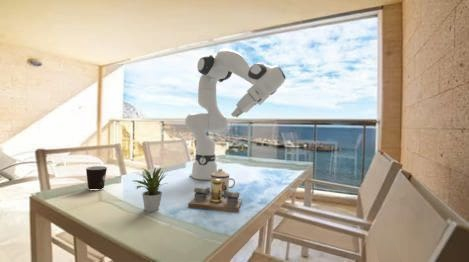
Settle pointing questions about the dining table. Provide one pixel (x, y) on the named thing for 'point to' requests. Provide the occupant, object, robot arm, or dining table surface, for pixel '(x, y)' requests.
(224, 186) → the teacup with lid
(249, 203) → the dining table surface
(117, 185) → the dining table surface
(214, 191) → the brass door knob
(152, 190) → the house plant
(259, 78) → the robot arm
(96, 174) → the coffee mug
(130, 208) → the dining table surface
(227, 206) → the shaft rig
